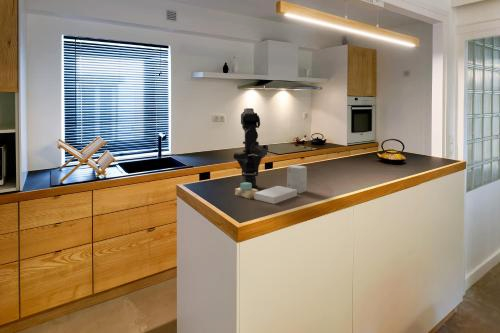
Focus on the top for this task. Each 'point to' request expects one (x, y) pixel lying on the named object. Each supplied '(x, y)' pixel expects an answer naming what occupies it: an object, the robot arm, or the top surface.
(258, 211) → the top surface
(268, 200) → the block
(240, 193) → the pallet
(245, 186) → the crate
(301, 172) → the small box
